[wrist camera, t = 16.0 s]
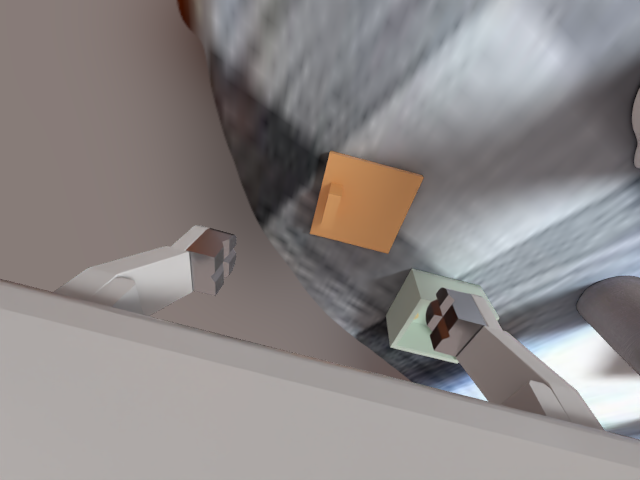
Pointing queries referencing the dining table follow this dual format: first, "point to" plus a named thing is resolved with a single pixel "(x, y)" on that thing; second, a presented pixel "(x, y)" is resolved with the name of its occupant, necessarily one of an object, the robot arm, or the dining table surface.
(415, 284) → the tub
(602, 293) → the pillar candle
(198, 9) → the dining table surface
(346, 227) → the lid
